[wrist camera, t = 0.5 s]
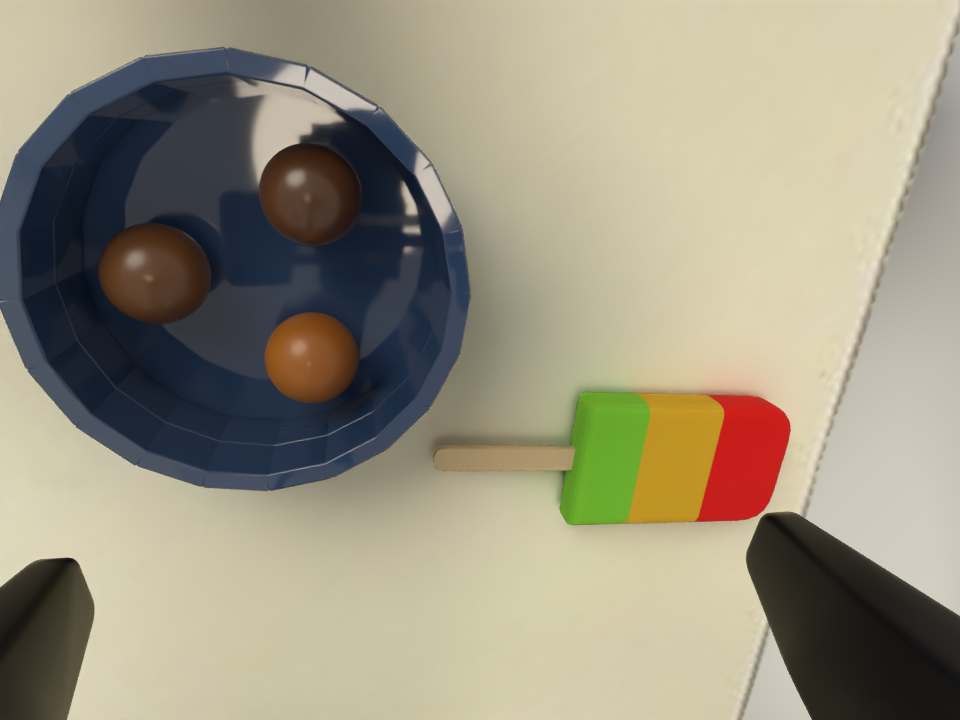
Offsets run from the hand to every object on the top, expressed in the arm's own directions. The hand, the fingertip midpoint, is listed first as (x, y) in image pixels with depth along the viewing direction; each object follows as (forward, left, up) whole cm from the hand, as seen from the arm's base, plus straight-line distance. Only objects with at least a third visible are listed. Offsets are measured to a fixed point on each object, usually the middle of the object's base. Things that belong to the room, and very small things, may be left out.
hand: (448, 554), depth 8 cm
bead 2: (0, +4, -13) cm, 14 cm away
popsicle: (+5, -10, -15) cm, 19 cm away
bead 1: (-6, +4, -13) cm, 15 cm away
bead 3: (-3, 0, -13) cm, 13 cm away
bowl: (-3, +3, -15) cm, 16 cm away
